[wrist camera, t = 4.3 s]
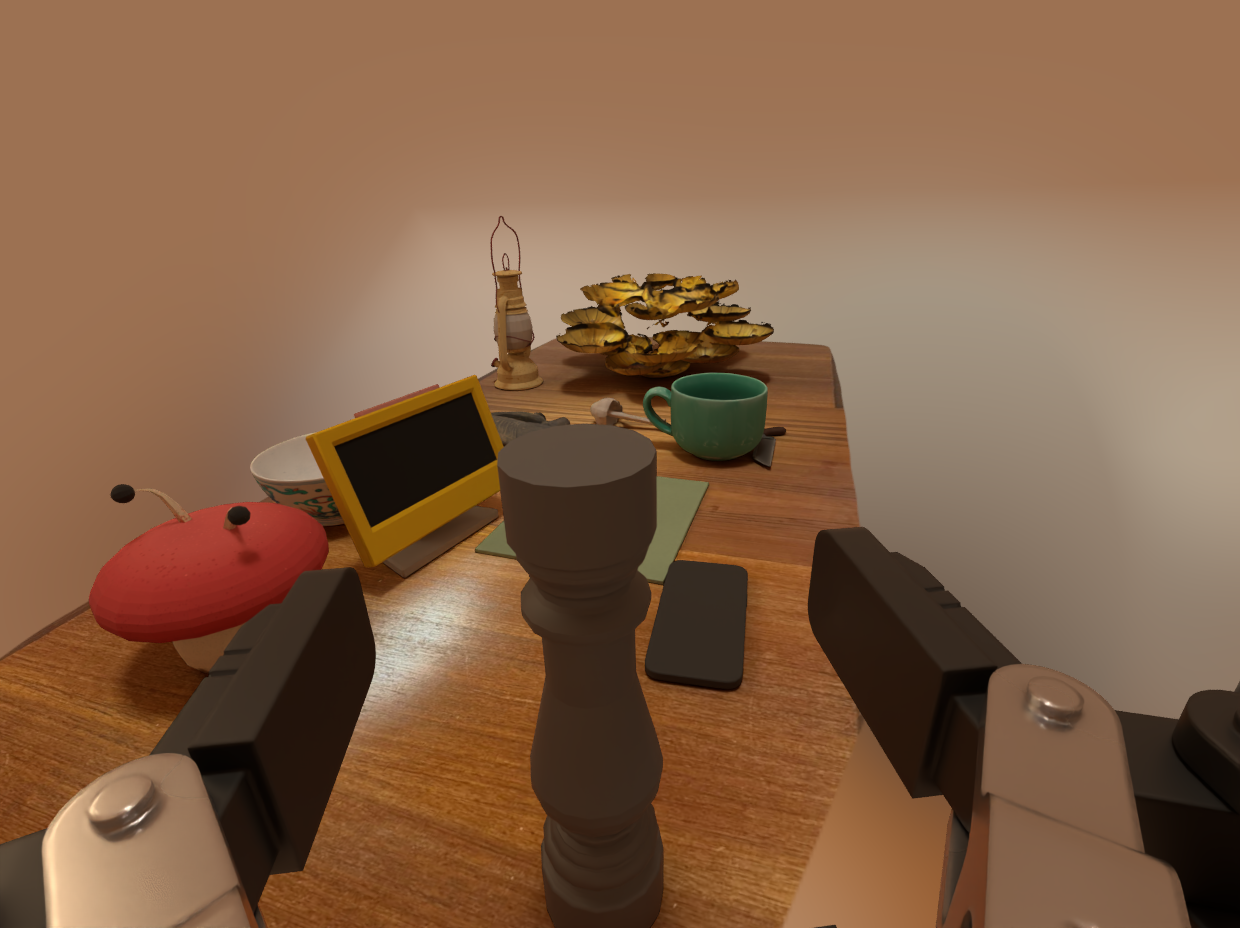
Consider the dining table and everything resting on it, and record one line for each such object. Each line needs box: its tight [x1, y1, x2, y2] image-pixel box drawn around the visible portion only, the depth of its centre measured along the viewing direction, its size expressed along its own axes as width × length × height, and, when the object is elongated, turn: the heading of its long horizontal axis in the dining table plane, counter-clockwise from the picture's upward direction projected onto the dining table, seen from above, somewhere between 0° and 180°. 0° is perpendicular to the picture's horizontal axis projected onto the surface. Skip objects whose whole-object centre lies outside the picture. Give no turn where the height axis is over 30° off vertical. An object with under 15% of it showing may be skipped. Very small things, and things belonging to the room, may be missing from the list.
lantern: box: [491, 216, 543, 390], centre depth 111 cm, size 12×10×30 cm
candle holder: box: [497, 424, 663, 928], centre depth 27 cm, size 6×6×25 cm
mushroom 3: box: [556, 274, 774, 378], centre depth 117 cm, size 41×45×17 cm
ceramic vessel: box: [491, 412, 570, 446], centre depth 88 cm, size 5×25×15 cm
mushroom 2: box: [89, 484, 329, 674], centre depth 47 cm, size 16×16×15 cm
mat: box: [475, 476, 709, 585], centre depth 68 cm, size 20×22×1 cm
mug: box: [643, 373, 768, 461], centre depth 83 cm, size 17×13×10 cm
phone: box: [645, 560, 748, 689], centre depth 51 cm, size 7×1×15 cm
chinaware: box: [250, 432, 345, 526], centre depth 70 cm, size 15×15×8 cm
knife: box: [753, 427, 786, 467], centre depth 84 cm, size 14×4×1 cm, turn 163°
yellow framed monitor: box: [306, 375, 504, 578], centre depth 62 cm, size 20×8×16 cm, turn 149°
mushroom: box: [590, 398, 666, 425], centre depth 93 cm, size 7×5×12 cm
